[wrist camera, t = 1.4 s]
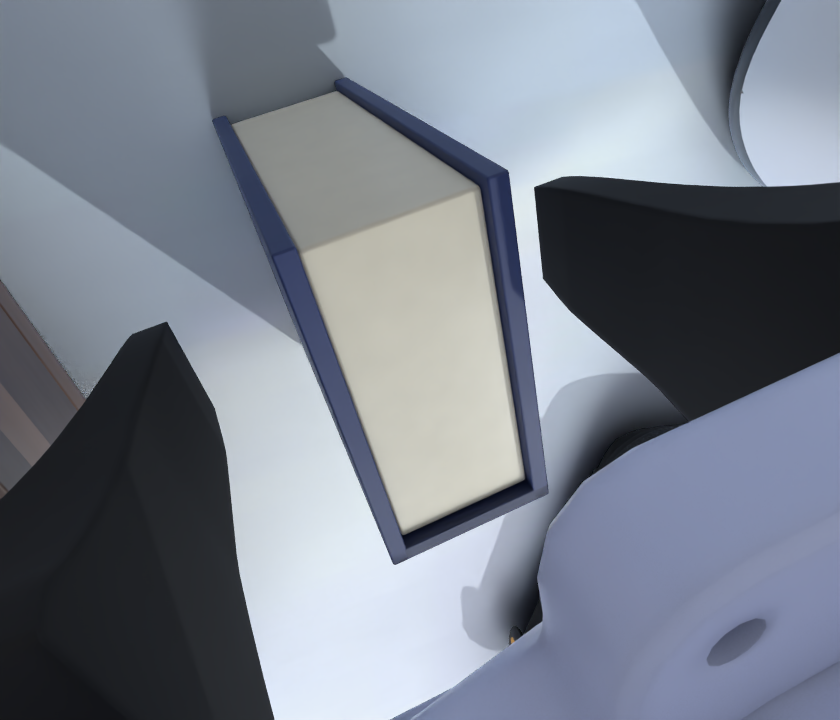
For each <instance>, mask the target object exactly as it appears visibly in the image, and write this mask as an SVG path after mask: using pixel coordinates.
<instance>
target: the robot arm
mask: <svg viewBox="0 0 840 720" xmlns="http://www.w3.org/2000/svg"><path fill="white" fill-rule="evenodd" d="M534 191H535V201H536V211H537V221H538V232H539V242H540V252H541V262H542V272H543V279H544V280H545V281H546V283H547V284H548V285H549V286H550V288H551V289H552V290H553V291H554V293H555V294H556V295H557V297H558V298H559V299H560V300H561V301H562V302H563V303H564V305H565V306H566V307H567V308H568V309H569V310H570V311H571V312H572V313H573V314H574V315H575V316H576V317H577V318H578V319H579V320H581V321H582V322H583V323H584V324H585V325H586V326H587V327H589V328H590V329H591V330H592V331H593V332H594V333H595V334H597V335H598V336H599V337H600V338H601V339H602V340H604V341H605V342H606V343H607V344H608V345H609V346H611V347H612V348H613V349H614V350H615V351H616V352H618V353H619V354H620V355H621V356H622V357H623V358H625V359H626V360H627V361H628V362H629V363H630V364H632V365H633V366H634V367H635V368H636V369H638V370H639V371H640V372H641V373H642V374H643V375H644V376H645V377H647V378H648V379H649V380H650V381H651V382H652V383H653V384H654V385H655V386H656V387H657V388H658V389H659V390H660V391H661V392H662V393H663V394H664V395H665V396H666V397H667V398H668V400H669V401H670V402H671V403H672V404H673V405H674V406H675V407H676V408H677V409H678V410H679V412H680V413H681V414H682V415H683V416H684V417H685V418H686V419H687V420H688V421H689V422H688V423H686V424H684V425H682V426H679V427H677V428H675V429H673V430H671V431H669V432H666V433H664V434H662V435H660V436H658V437H656V438H653V439H651V440H649V441H647V442H645V443H642V444H640V445H638V446H636V447H634V448H632V449H630V450H629V451H627V452H626V453H625V454H623V455H622V456H620V457H619V458H617V459H616V460H614V461H613V462H611V463H610V464H608V465H607V466H605V467H604V468H602V469H601V470H599V471H598V472H596V473H595V474H593V475H592V476H590V477H589V478H588V479H586V480H585V481H583V483H582V484H581V485H580V486H579V488H578V489H577V490H576V492H575V493H574V494H573V495H572V497H571V498H570V499H569V501H568V502H567V503H566V504H565V506H564V507H563V508H562V510H561V511H560V512H559V513H558V515H557V516H556V517H555V519H554V520H553V521H552V522H551V524H550V526H549V528H548V531H547V534H546V538H545V543H544V548H543V552H542V557H541V561H540V566H539V571H538V575H537V580H538V586H539V592H540V598H541V605H542V611H543V621H542V622H541V623H539V624H538V625H536V626H535V627H534V628H532V629H531V630H530V631H528V632H527V633H526V634H524V635H523V636H522V637H520V638H519V639H518V640H516V641H515V642H514V643H512V644H511V645H509V646H508V647H507V648H505V649H504V650H503V651H501V652H500V653H499V654H497V655H496V656H495V657H493V658H492V659H491V660H489V661H488V662H487V663H485V664H484V665H483V666H481V667H480V668H479V669H477V670H476V671H475V672H473V673H472V674H471V675H469V676H468V677H466V678H465V679H464V680H462V681H461V682H460V683H458V684H457V685H456V686H454V687H453V688H451V689H449V690H447V691H445V692H443V693H442V694H440V695H438V696H436V697H434V698H432V699H430V700H428V701H426V702H424V703H422V704H420V705H418V706H416V707H414V708H412V709H410V710H408V711H406V712H404V713H402V714H400V715H398V716H396V717H394V718H392V719H390V720H840V182H835V183H824V184H812V185H797V186H768V187H719V186H699V185H682V184H668V183H657V182H646V181H635V180H625V179H614V178H602V177H587V176H569V177H561V178H558V179H555V180H553V181H550V182H547V183H544V184H542V185H539V186H536V187H534ZM0 720H274V716H273V712H272V708H271V704H270V701H269V697H268V693H267V689H266V685H265V681H264V678H263V673H262V669H261V665H260V661H259V657H258V653H257V649H256V644H255V640H254V636H253V632H252V628H251V624H250V619H249V615H248V610H247V606H246V601H245V597H244V592H243V588H242V583H241V579H240V574H239V567H238V561H237V554H236V544H235V534H234V524H233V514H232V504H231V494H230V484H229V475H228V465H227V457H226V450H225V446H224V442H223V438H222V434H221V430H220V426H219V423H218V419H217V415H216V411H215V408H214V406H213V404H212V403H211V401H210V399H209V397H208V395H207V393H206V392H205V390H204V388H203V386H202V384H201V383H200V381H199V379H198V377H197V375H196V374H195V372H194V370H193V368H192V366H191V365H190V363H189V361H188V359H187V357H186V356H185V354H184V352H183V350H182V348H181V346H180V345H179V343H178V341H177V339H176V337H175V336H174V334H173V332H172V330H171V328H170V327H169V325H168V323H167V322H164V323H162V324H159V325H156V326H153V327H151V328H148V329H145V330H142V331H140V332H137V333H134V334H132V335H131V336H130V337H129V338H128V339H127V341H126V342H125V343H124V345H123V346H122V348H121V349H120V351H119V352H118V354H117V355H116V357H115V358H114V360H113V361H112V363H111V364H110V366H109V367H108V369H107V370H106V372H105V373H104V374H103V376H102V377H101V379H100V380H99V382H98V383H97V385H96V386H95V388H94V389H93V391H92V392H91V394H90V395H89V396H88V398H87V399H86V401H85V402H84V403H83V405H82V406H81V407H80V409H79V410H78V411H77V413H76V414H75V415H74V416H73V418H72V419H71V420H70V422H69V423H68V424H67V426H66V427H65V428H64V430H63V431H62V432H61V433H60V435H59V436H58V437H57V439H56V440H55V441H54V442H53V444H52V445H51V446H50V447H49V448H48V450H47V451H46V452H45V453H44V454H43V455H42V456H41V458H40V459H39V460H38V461H37V462H36V463H35V464H34V465H33V466H32V467H31V469H30V470H29V471H28V472H27V473H26V474H25V475H24V476H23V477H22V478H21V479H20V480H19V481H18V482H17V483H16V484H15V485H14V486H13V488H12V489H11V490H9V491H8V492H7V493H6V494H5V495H4V496H3V497H2V498H1V499H0Z"/></svg>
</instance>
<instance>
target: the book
mask: <svg viewBox="0 0 840 720" xmlns="http://www.w3.org/2000/svg"><path fill="white" fill-rule="evenodd" d="M335 86H336V90H337V91H335V92H331V93H328V94H325V95H322V96H319V97H316V98H313V99H309V100H306V101H303V102H300V103H297V104H294V105H290V106H287V107H284V108H281V109H278V110H275V111H272V112H268V113H265V114H262V115H259V116H256V117H253V118H250V119H246V120H243V121H240V122H237V123H234V124H232V125H230V123H229V121H228V119H227V117H226V116H222V117H218V118H215V119H213V120H212V122H213V124H214V127H215V129H216V132H217V134H218V137H219V139H220V142H221V144H222V147H223V149H224V151H225V154H226V156H227V159H228V161H229V164H230V166H231V169H232V171H233V174H234V176H235V179H236V181H237V184H238V186H239V189H240V191H241V194H242V196H243V199H244V201H245V204H246V206H247V209H248V211H249V214H250V216H251V219H252V221H253V224H254V226H255V229H256V231H257V233H258V236H259V238H260V241H261V243H262V246H263V248H264V251H265V253H266V256H267V258H268V261H269V263H270V266H271V268H272V271H273V273H274V276H275V278H276V281H277V283H278V286H279V288H280V291H281V293H282V296H283V298H284V301H285V303H286V306H287V308H288V311H289V313H290V315H291V318H292V320H293V323H294V325H295V328H296V330H297V333H298V335H299V338H300V340H301V343H302V345H303V348H304V350H305V353H306V355H307V357H308V360H309V362H310V365H311V367H312V369H313V372H314V374H315V377H316V379H317V382H318V384H319V386H320V389H321V391H322V394H323V396H324V398H325V401H326V403H327V406H328V408H329V410H330V413H331V415H332V418H333V420H334V422H335V425H336V427H337V430H338V432H339V435H340V437H341V439H342V442H343V444H344V447H345V449H346V451H347V454H348V456H349V459H350V461H351V463H352V466H353V468H354V471H355V473H356V476H357V478H358V480H359V483H360V485H361V488H362V490H363V492H364V495H365V497H366V500H367V502H368V504H369V507H370V509H371V512H372V514H373V516H374V519H375V521H376V524H377V526H378V529H379V531H380V533H381V536H382V538H383V541H384V543H385V545H386V548H387V550H388V553H389V555H390V557H391V560H392V562H393V564H394V565H396V564H398V563H400V562H403V561H405V560H407V559H409V558H411V557H413V556H416V555H418V554H420V553H422V552H424V551H426V550H428V549H431V548H433V547H435V546H437V545H439V544H441V543H443V542H446V541H448V540H450V539H452V538H454V537H456V536H459V535H461V534H463V533H465V532H467V531H469V530H471V529H474V528H476V527H478V526H480V525H482V524H484V523H487V522H489V521H491V520H493V519H495V518H497V517H499V516H502V515H504V514H506V513H508V512H510V511H512V510H514V509H517V508H519V507H521V506H523V505H525V504H527V503H530V502H532V501H534V500H536V499H538V498H540V497H542V496H545V495H547V494H548V493H549V492H548V484H547V476H546V468H545V460H544V452H543V444H542V436H541V428H540V420H539V412H538V404H537V396H536V388H535V380H534V372H533V364H532V356H531V348H530V340H529V332H528V324H527V316H526V308H525V300H524V292H523V284H522V276H521V268H520V260H519V251H518V243H517V235H516V227H515V219H514V211H513V203H512V195H511V187H510V179H509V172H508V170H506V169H505V168H503V167H501V166H499V165H498V164H496V163H494V162H492V161H491V160H489V159H487V158H485V157H484V156H482V155H480V154H478V153H477V152H475V151H473V150H472V149H470V148H468V147H466V146H465V145H463V144H461V143H459V142H458V141H456V140H454V139H452V138H451V137H449V136H447V135H446V134H444V133H442V132H440V131H439V130H437V129H435V128H433V127H432V126H430V125H428V124H426V123H425V122H423V121H421V120H419V119H418V118H416V117H414V116H413V115H411V114H409V113H407V112H406V111H404V110H402V109H400V108H399V107H397V106H395V105H393V104H392V103H390V102H388V101H386V100H385V99H383V98H381V97H380V96H378V95H376V94H374V93H373V92H371V91H369V90H367V89H366V88H364V87H362V86H360V85H359V84H357V83H355V82H354V81H352V80H350V79H348V78H343V79H339V80H336V81H335Z"/></svg>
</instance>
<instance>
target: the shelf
mask: <svg viewBox="0 0 840 720" xmlns="http://www.w3.org/2000/svg"><path fill="white" fill-rule="evenodd" d="M85 401H86V399H85V398H84V396H83V395H82V394H81V392H80V391H79V389H78V388H77V387H76V385H75V384H74V382H73V381H72V380H71V378H70V377H69V375H68V374H67V373H66V371H65V370H64V368H63V367H62V366H61V364H60V363H59V361H58V360H57V359H56V357H55V356H54V354H53V353H52V352H51V350H50V349H49V347H48V346H47V345H46V343H45V342H44V340H43V339H42V338H41V336H40V335H39V333H38V332H37V331H36V329H35V328H34V326H33V325H32V324H31V322H30V321H29V319H28V318H27V317H26V315H25V314H24V312H23V311H22V310H21V308H20V307H19V305H18V304H17V303H16V301H15V300H14V298H13V297H12V296H11V294H10V293H9V291H8V290H7V289H6V287H5V286H4V284H3V283H2V282H1V280H0V499H1V498H2V497H3V496H4V495H5V494H6V493H7V492H8V491H9V490H11V489H12V488H13V486H14V485H15V484H16V483H17V482H18V481H19V480H20V479H21V478H22V477H23V476H24V475H25V474H26V473H27V472H28V471H29V470H30V469H31V467H32V466H33V465H34V464H35V463H36V462H37V461H38V460H39V459H40V458H41V456H42V455H43V454H44V453H45V452H46V451H47V450H48V448H49V447H50V446H51V445H52V444H53V442H54V441H55V440H56V439H57V437H58V436H59V435H60V433H61V432H62V431H63V430H64V428H65V427H66V426H67V424H68V423H69V422H70V420H71V419H72V418H73V416H74V415H75V414H76V413H77V411H78V410H79V409H80V407H81V406H82V405H83V403H84V402H85Z"/></svg>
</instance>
